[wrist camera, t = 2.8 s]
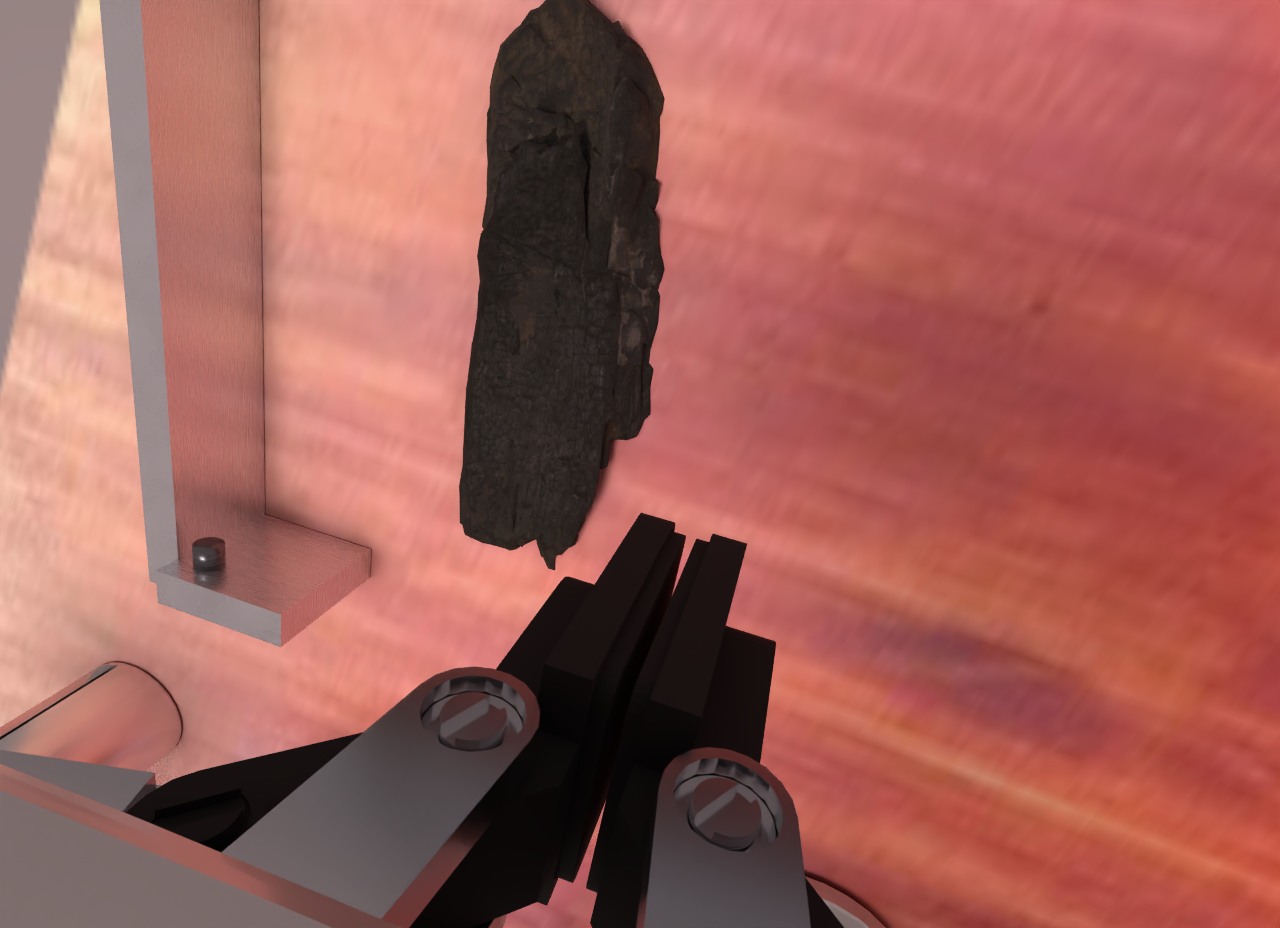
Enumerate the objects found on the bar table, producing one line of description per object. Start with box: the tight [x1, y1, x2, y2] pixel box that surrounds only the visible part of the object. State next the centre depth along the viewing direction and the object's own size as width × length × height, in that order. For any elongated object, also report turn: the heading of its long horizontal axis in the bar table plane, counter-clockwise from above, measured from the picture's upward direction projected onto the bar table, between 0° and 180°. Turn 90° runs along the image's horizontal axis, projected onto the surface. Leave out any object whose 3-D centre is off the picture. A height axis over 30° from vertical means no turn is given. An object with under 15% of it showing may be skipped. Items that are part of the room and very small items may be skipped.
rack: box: [100, 0, 371, 647], centre depth 27 cm, size 8×28×6 cm, turn 169°
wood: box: [459, 0, 664, 570], centre depth 26 cm, size 22×7×3 cm, turn 169°
